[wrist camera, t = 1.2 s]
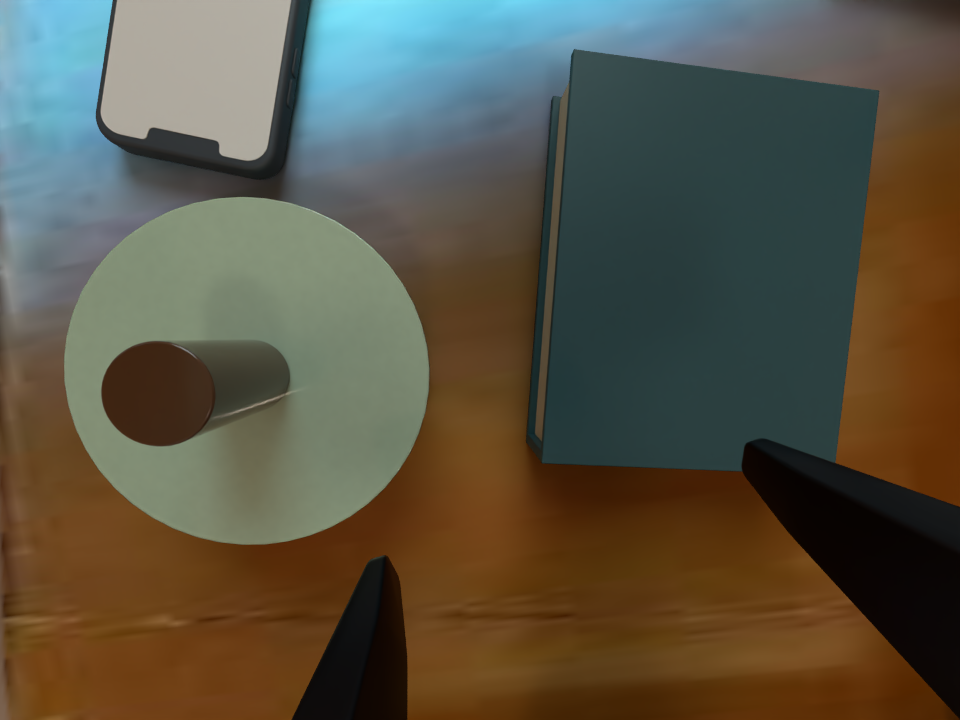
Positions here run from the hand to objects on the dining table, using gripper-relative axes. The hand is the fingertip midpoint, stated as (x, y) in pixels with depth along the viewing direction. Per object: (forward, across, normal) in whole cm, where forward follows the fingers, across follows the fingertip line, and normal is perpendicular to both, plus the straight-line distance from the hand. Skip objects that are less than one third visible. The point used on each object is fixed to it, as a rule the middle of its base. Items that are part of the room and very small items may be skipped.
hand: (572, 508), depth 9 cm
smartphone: (+23, +9, -16) cm, 29 cm away
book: (+14, -12, +2) cm, 19 cm away
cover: (+9, +9, -2) cm, 13 cm away
